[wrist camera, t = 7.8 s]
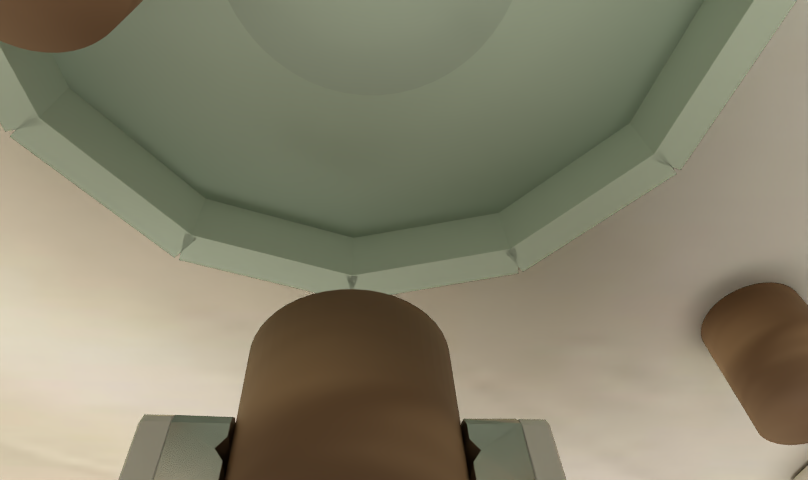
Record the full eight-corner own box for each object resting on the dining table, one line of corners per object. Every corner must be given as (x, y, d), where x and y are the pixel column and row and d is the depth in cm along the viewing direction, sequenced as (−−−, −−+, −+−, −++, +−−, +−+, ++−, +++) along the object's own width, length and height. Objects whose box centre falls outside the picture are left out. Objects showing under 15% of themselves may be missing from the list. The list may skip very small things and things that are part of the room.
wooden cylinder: (780, 265, 24) (853, 350, 21) (816, 323, 26) (888, 409, 23) (684, 318, 26) (737, 406, 22) (724, 369, 28) (779, 458, 24)
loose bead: (462, 292, 12) (507, 515, 8) (437, 432, 14) (465, 656, 11) (242, 286, 12) (188, 517, 8) (254, 430, 14) (216, 662, 10)
